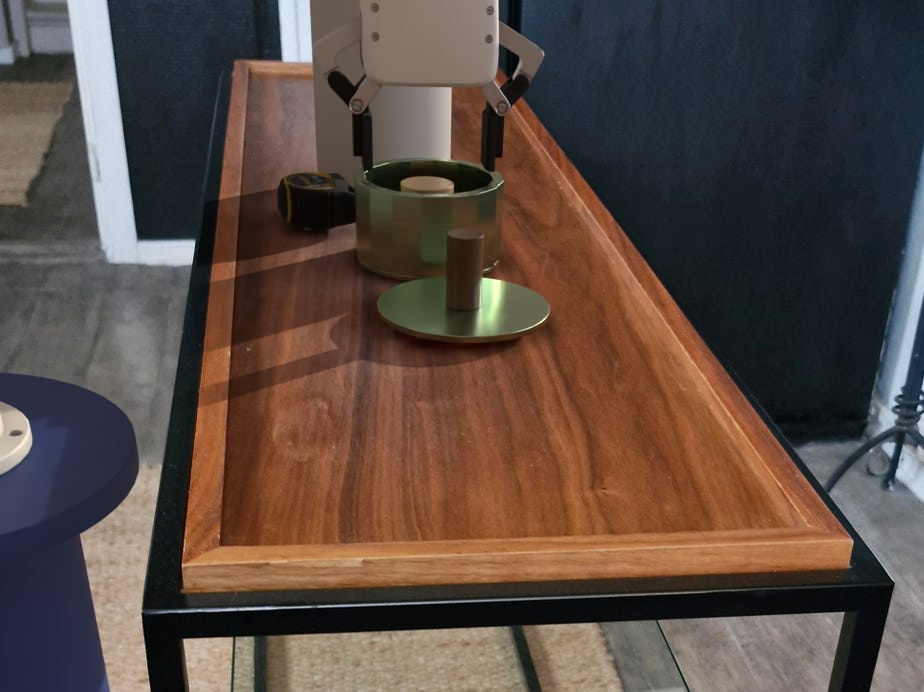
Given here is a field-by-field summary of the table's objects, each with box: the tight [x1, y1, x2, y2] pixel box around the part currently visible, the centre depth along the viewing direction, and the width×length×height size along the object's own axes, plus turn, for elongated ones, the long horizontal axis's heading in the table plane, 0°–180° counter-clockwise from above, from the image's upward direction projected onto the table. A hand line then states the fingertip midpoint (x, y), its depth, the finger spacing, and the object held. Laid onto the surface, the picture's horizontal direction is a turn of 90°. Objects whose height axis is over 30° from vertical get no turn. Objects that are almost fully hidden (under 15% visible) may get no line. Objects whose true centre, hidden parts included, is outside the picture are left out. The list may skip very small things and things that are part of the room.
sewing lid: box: [376, 228, 551, 344], centre depth 88 cm, size 13×13×6 cm
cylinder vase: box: [309, 0, 453, 189], centre depth 108 cm, size 12×12×25 cm
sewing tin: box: [354, 158, 505, 282], centre depth 98 cm, size 12×12×6 cm
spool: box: [401, 176, 454, 194], centre depth 98 cm, size 4×4×6 cm
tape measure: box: [276, 171, 356, 231], centre depth 105 cm, size 7×7×4 cm
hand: (427, 167), depth 96 cm, fingers open, 9 cm apart
